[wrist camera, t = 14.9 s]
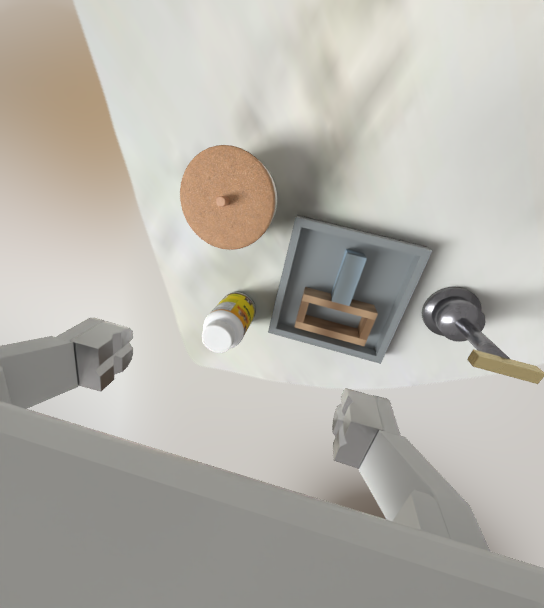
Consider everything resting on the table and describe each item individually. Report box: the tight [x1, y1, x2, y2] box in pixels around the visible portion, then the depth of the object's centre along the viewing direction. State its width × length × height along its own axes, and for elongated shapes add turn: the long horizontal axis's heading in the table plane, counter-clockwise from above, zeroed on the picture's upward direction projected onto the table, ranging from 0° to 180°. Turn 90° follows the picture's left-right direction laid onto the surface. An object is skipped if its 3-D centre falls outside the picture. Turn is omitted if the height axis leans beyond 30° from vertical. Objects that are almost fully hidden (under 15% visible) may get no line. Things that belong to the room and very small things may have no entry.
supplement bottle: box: [202, 292, 255, 353], centre depth 39 cm, size 6×6×10 cm
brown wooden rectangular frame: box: [295, 249, 378, 346], centre depth 38 cm, size 10×12×3 cm
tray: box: [268, 215, 432, 364], centre depth 39 cm, size 17×17×2 cm
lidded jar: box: [180, 145, 277, 249], centre depth 33 cm, size 11×11×9 cm
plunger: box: [422, 287, 544, 384], centre depth 33 cm, size 7×7×14 cm
